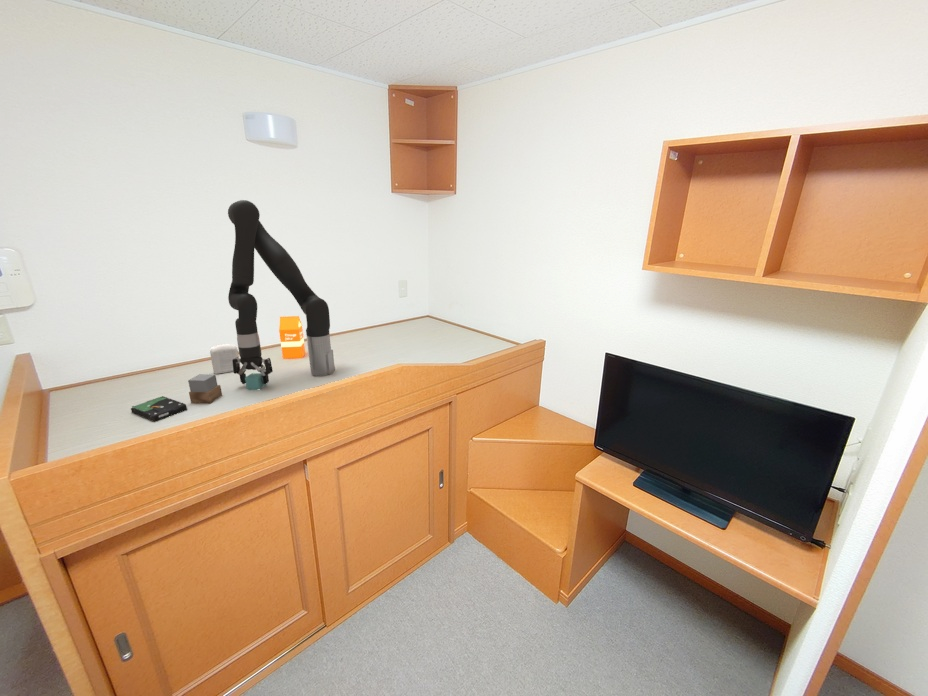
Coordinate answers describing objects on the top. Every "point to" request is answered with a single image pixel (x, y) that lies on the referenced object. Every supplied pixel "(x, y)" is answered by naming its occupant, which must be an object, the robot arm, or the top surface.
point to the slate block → (203, 383)
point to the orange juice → (291, 337)
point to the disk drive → (158, 408)
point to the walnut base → (206, 395)
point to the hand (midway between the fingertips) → (255, 383)
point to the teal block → (254, 381)
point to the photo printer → (223, 357)
